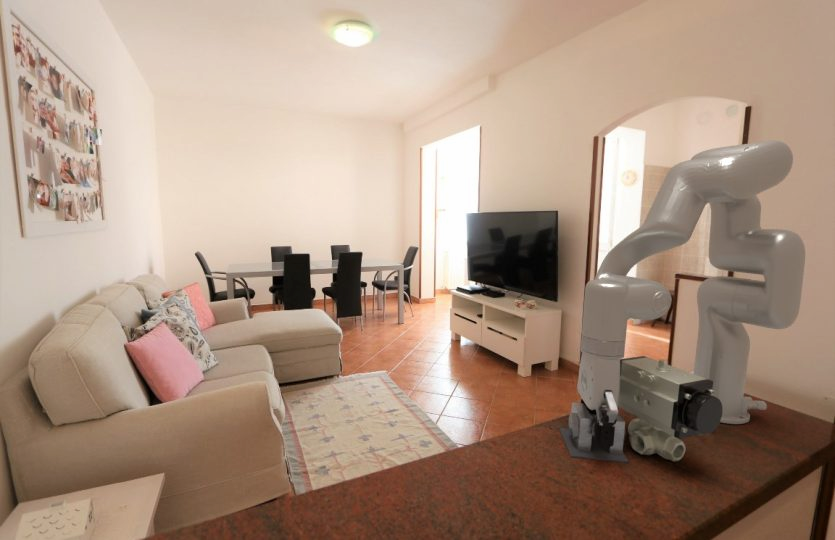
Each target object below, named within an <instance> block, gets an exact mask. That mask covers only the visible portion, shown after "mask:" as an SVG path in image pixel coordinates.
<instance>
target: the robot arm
mask: <svg viewBox="0 0 835 540" xmlns="http://www.w3.org/2000/svg"><path fill="white" fill-rule="evenodd" d="M793 161H794V155H793V152H792V149H791V147H790V146H789V145H788V144H786V142H783V141H780V140H765V141H757V142H752V143H744V144H738V145H737V144H736V145H728V146H720V147H715V148H710V149H705V150H703V151H700V152H698V153H695V154H694V155H693V156H692V157H691V158H690V159H688V160H685V161H681V162H678V163H676V164H674V165H673V166H672V167H671V168H670V169H669V170H668V172H667V173H666V175H665V177H664V179H663V181H662V184H661V186H660V188H659V190H658V192H657V194H656V196H655V198H654V200H653V202H652V204H651V207H650V208H649V210H648V213H647V215H646V217H645V220H644V221H643V223H642V225H641V226H640V227H638V228H637V229H635V230H634V231H632V232H631V233H630V234H628V235H627V236H626V237H624V238H623V239H621V240H620V241H619V243H617V244H616V245H615V246H614V247H613V248H611V250H609V252H608V253H607V254H606V255H605V256H604V258H603V261H602V262H601V264H600V266H599V268H598V270H597V272H596V275H595V276H594V279H592V280H589V281H588V282H587V283H586V284H585V288H584V297H583V298H584V300H583V301H584V302H583V311H582V312H583V313H582V325H581V327H582V328H581V338H580V352H581V357H580V361H579V362H580V364H579V369H578V379H577V385H576V386H577V387H576V389H577V392H578V394H579V396H580V397H581V399H580V403H584V405H585V407H586V408H587V410H588V412H589V413H590V414H595V415H597V420H598V423H595V435H594V443H595V444H596V445H601V446H613V444H614V433H615V427H616V421H617V420H616V419H617V416H618V413H619V410H618V408H619V407H618V403H619V392H620V359H624V357H625V350H626V339H627V330H628V328H627V327H628V320H629V319H631V320H643V321H651V320H652V321H653V320H656V319H660V318H661V317H663V316H665V314H667V313H668V311H669V310H670V308H671V305H672V295H671V293H670V291H669V289H668V288H667V287H666V286H665V285H663V283H660V282H658V281H655V280H650V279H645V278H640V277H634V276H629V275H628V273H629V272H630V271H631V270H632V268H633V267H635V266H636V265H637V264H638V263H639V262H641V261H643V260H645V259H646V258H649V257H651V256H655V255H656V254H660V253H662V252H663V253H664V252H667V251H669V250H673V249H674V248H675V249H676V248H677V247H681V246H683V245H684V244H687V242H688V241H690V239H691V237H692V235H693V233H694V231H695V228H696V226H697V224H698V221H699V220H700V217H701V215H702V214H703V212H704V209H705V208H706V206H707V204H708V203H709V207H710V226H709V241H708V260H709V261H708V262H709V263H710V264H711V266H712V267H714V268H715V269H718V270H722V271H726V272H727V271H728V272H733V273H734V272H735V273H743V274H744V273H745V274H752V275H759V276H760V275H761V276H762V277H763V278H764V281H763V280H758V279H751V278H744V277H736V276H726V275H724V276H723V275H721V276H712V277H709V278H706V279H705V280H703V281H702V282H701V283H700V285H699V286H698V287H697V291H696V303H697V310H698V311H697V312H698V329H697V339H696V340H697V341H696V350H695V357H694V364H693V365H694V367H693V372H692V374H695V375H697V376H700V377H703V378H706V379H708V380H711V381H713V388H712V390H714V394H713V395H712V396H715V397H717V398H718V399H719V400H720V401H721V403H722V408H723V412H722V417H721V420H720V423H722V424H728V425H729V424H730V425H742V424H746V423H749V422H750V420H751V419H750V418H751V414H750V413H749V411H750V410H752V409H754V410H760V411H761V410H762V411H765V410H767V409H768V405H767V403H766V402H765V400H753V398H752V397H751V396H744V395H745V386H746V377H747V370H748V365H749V355H750V349H751V339H750V336H749V334H748V331H747V330H746V328H745V326H744V324H748V325H752V326H757V327H761V328H762V327H763V328H767V329H773V330H783V329H784V330H785V329H788V328H790V327H791V326H793V324H794V323H795V322H796V320H797V318H798V315H799V313H800V309H801V299H802V291H803V283H804V273H805V265H806V247H805V243H804V240H803V239H802V237H801V236H800V235H799V234H798V233H796V232H794V231H792V230H787V229H782V228H781V229H779V228H778V229H777V228H776V229H775V228H762V227H761V216H762V215H761V213H762V212H761V211H762V205H761V201H760V199H759V197H758V196H757V195H758V194H761V193H763V192H765V191H767V190H769V189H771V188H774V187H775V186H778V185H779V184H780V183H781V182H783V181H784V180H785V179H786V177H788V175H789V173H790V172H791V169H792V167H793V164H794V163H793ZM601 405H606V406H607V407H601ZM601 412H607V415H605V416H604V417H603V418H602V413H601Z"/></svg>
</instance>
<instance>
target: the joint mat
mask: <svg viewBox="0 0 835 540" xmlns="http://www.w3.org/2000/svg"><path fill="white" fill-rule="evenodd" d="M559 432H560V435H561V437H562V439H563V441H564V444H565V447H566V449H567V452H568V454H569V456H570V458H577V459H587V460H588V459H589V460H596V461H606V462H619V463H626V464H629V459H628V458H627V456H626V455H625V453H624V452H623V451H622V455H616V454H609V452H608V450H607V449H606V447H605V446H601V445H596V444H595V443H594V441H591V451H590V452H585V451H578V449H577V447H576V445H575V443H574V441H573V439H572V438H571V436H570V432H569V428H565V427H559Z"/></svg>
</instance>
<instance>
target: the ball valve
mask: <svg viewBox="0 0 835 540" xmlns="http://www.w3.org/2000/svg"><path fill="white" fill-rule="evenodd" d="M712 388H713V381H711V380H708V379H706V378H703V377H700V376H697V375H695V374H693V372H692V373H691V372H690V371H686V370H684V369H681V368H678V367H675V366H672V365H670V364H669V361H668V360H665V359H658V360H657V359H653V358H650V357H648V356H646V355H641V356H632V357H626V358H622V359H620V392H619V403H618V408H620V409H622V410H624V411H626V412H627V413H630V414H631V415H633V416H635V417H637V418H633V419H632V420H631V421H630V422H629V424H628V427H627V431H628V434H629V437H628V438H629V439H628V440H629V443H630V446H631V448H632V449H633V450H634V451H635V452H637V453H639V454H640V455H645V456H646V455H647V456H651V455H653V454H654V455H655V454H657V455H658V456H659V457H662V458H663V459H665V460H670V461H672V462H679V461H681V460H682V459H683V457H684V455H685V452H686V449H687V448H686V445H685V443H684V441H683V439H686V438H691V437H695V436H698V435H704V436H706V435H709V434H712V433H713V432H714V431H715V430H716V429H717V428H718V426H719V424H720V423H721V422H720V420H721V417H722V412H723V408H722V403H721V401H720V400H719V399H718V398H717V397H715V396H712V395H713V394H714V390H712Z"/></svg>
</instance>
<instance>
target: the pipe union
mask: <svg viewBox="0 0 835 540" xmlns="http://www.w3.org/2000/svg"><path fill="white" fill-rule="evenodd" d="M600 407H607V406H606V405H600ZM570 411H571V412H570V413H569V416H568V429H569V432H570V436H571V438H572V439H573V441H574V443H575V445H576V447H577V449H578V451H585V452H590V451H591V441H594V435H595V423H598V420H597V415H595V414H590V413H589V412H588V410H587V408H586V407H585V405H584V403H581V402H571V410H570ZM601 413H602V418H603V417H604V416H605V415H607V412H601ZM616 420H617V421H616V427H615V433H614V444H613V446H605V447H606V449H607V450H608V452H609V454H616V455H622V452H623V451H624V450H623V448H624V443H625V440H626V421H625V420H624V419H623V417H622V416H621V415H620V413H619V412H618V416H617V419H616Z"/></svg>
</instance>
